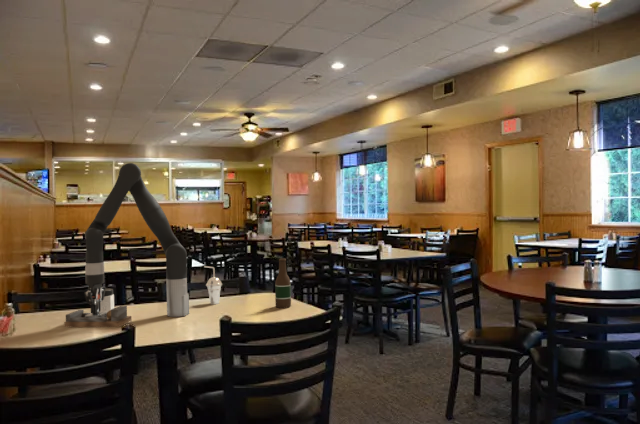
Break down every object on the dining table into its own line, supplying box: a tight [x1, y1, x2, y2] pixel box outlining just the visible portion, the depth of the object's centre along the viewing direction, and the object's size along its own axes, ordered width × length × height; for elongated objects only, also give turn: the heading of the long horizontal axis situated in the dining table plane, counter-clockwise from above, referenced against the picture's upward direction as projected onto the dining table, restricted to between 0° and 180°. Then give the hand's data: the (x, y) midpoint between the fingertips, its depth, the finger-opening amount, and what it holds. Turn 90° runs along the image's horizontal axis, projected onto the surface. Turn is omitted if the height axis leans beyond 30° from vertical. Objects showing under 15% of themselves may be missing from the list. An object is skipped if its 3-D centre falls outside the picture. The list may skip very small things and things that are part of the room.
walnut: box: [107, 310, 111, 319], centre depth 213 cm, size 4×4×4 cm
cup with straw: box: [203, 265, 223, 305], centre depth 254 cm, size 8×9×20 cm
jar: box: [99, 288, 115, 313], centre depth 231 cm, size 9×8×12 cm
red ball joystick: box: [85, 294, 107, 317], centre depth 214 cm, size 7×7×11 cm
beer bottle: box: [274, 257, 292, 309], centre depth 242 cm, size 8×8×24 cm
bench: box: [63, 305, 132, 328], centre depth 214 cm, size 24×12×7 cm, turn 85°
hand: (95, 311), depth 214 cm, fingers closed on red ball joystick, 3 cm apart
